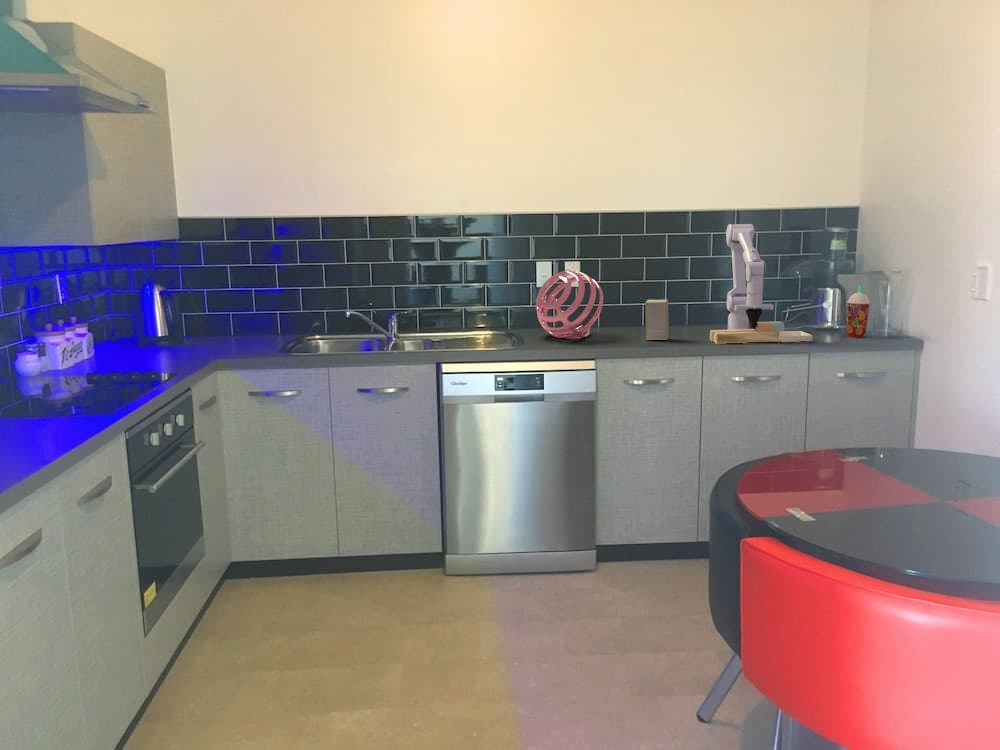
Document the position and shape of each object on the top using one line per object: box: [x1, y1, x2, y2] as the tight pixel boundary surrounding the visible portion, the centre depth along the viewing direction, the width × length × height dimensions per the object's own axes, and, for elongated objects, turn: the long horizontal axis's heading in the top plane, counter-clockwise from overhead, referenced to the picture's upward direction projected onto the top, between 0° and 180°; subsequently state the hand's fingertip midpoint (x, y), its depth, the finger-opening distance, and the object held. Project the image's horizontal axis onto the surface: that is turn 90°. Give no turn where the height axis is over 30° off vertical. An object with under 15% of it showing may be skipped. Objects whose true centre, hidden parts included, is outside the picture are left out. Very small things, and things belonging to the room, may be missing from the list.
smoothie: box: [846, 285, 871, 339], centre depth 327 cm, size 8×8×20 cm
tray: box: [779, 330, 814, 343], centre depth 324 cm, size 11×12×2 cm
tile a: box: [754, 321, 772, 332], centre depth 323 cm, size 5×5×3 cm
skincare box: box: [644, 299, 670, 341], centre depth 328 cm, size 8×7×16 cm
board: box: [709, 328, 781, 345], centre depth 323 cm, size 9×24×4 cm, turn 93°
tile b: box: [768, 320, 785, 332], centre depth 323 cm, size 5×5×3 cm
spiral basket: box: [535, 270, 604, 340], centre depth 338 cm, size 28×28×27 cm
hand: (753, 328), depth 323 cm, fingers closed
